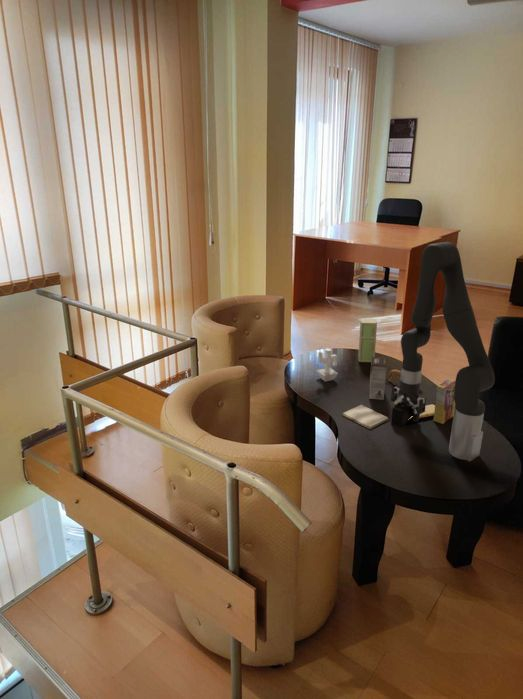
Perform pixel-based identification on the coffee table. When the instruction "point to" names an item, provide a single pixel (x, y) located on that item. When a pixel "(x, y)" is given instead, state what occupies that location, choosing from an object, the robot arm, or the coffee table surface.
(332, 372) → the figurine
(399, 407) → the digital camera
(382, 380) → the coffee box
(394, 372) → the lion figurine
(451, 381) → the candy box
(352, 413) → the birch board
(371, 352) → the toy refrigerator
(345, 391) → the coffee table surface
